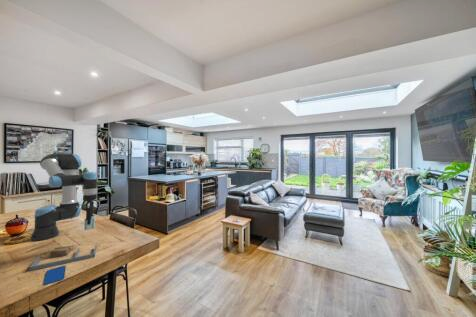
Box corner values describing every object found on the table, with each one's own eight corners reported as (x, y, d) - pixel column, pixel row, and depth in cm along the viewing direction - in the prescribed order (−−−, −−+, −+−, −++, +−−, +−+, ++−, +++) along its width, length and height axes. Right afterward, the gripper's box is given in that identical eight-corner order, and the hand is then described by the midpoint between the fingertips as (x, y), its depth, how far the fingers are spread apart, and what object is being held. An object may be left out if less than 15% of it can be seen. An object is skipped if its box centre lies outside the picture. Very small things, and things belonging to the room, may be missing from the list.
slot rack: (38, 259, 111) (38, 256, 111) (97, 247, 126) (97, 244, 126) (28, 271, 99) (28, 267, 99) (94, 257, 114) (94, 253, 114)
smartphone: (42, 285, 88) (47, 270, 99) (42, 287, 88) (47, 272, 99) (64, 278, 93) (65, 265, 104) (64, 280, 93) (65, 266, 104)
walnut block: (50, 258, 113) (55, 254, 118) (66, 256, 116) (70, 252, 121) (50, 251, 113) (55, 247, 118) (66, 249, 116) (70, 246, 121)
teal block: (85, 227, 130) (85, 217, 130) (94, 226, 133) (94, 216, 133) (84, 230, 126) (84, 219, 126) (93, 228, 129) (93, 218, 129)
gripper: (85, 192, 135) (84, 224, 135) (80, 197, 120) (80, 233, 120) (98, 191, 139) (97, 222, 139) (95, 196, 124) (94, 230, 124)
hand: (89, 227), depth 129 cm, fingers closed on teal block, 5 cm apart
